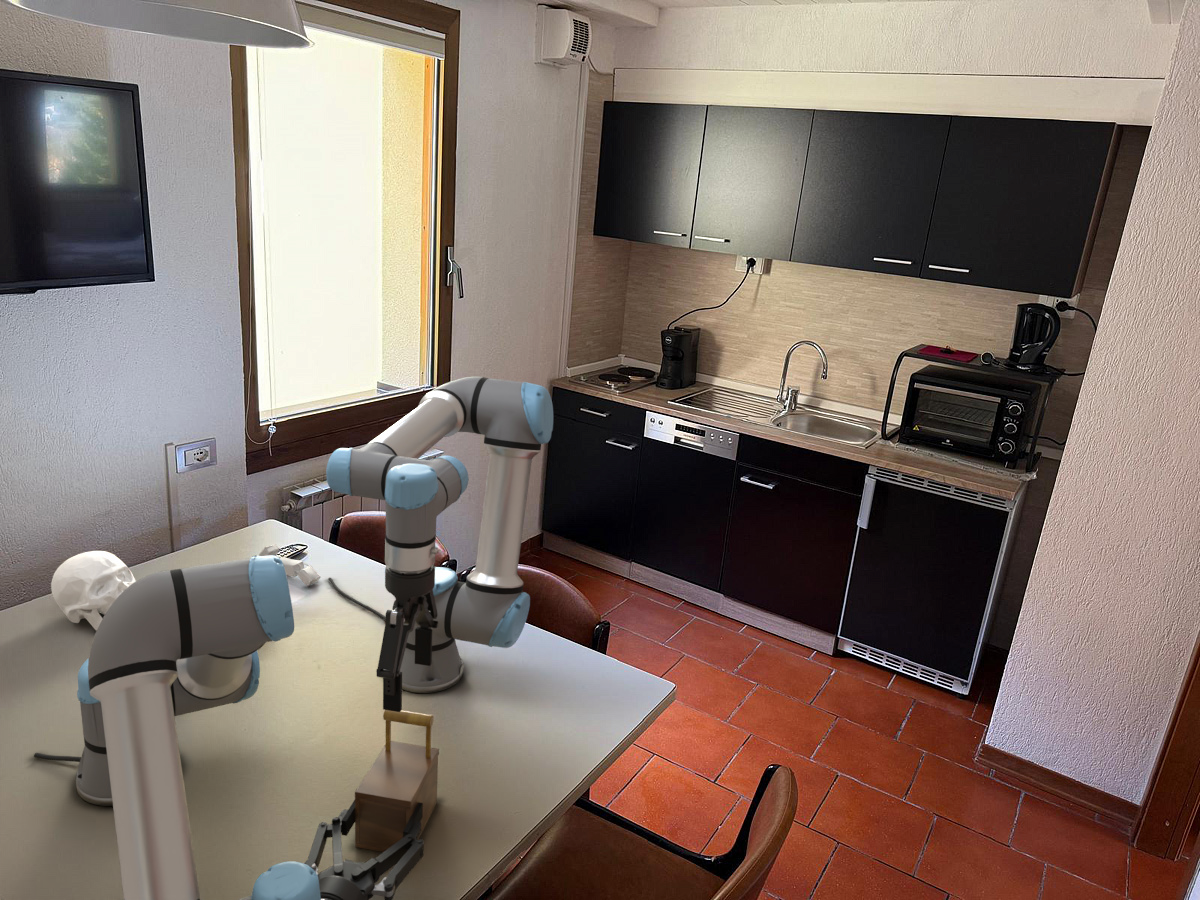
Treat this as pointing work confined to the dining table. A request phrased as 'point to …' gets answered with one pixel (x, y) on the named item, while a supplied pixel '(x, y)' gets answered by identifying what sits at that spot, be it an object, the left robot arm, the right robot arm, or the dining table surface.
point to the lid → (399, 764)
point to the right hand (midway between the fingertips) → (408, 685)
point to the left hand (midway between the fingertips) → (390, 804)
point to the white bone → (293, 566)
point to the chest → (391, 816)
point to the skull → (89, 585)
